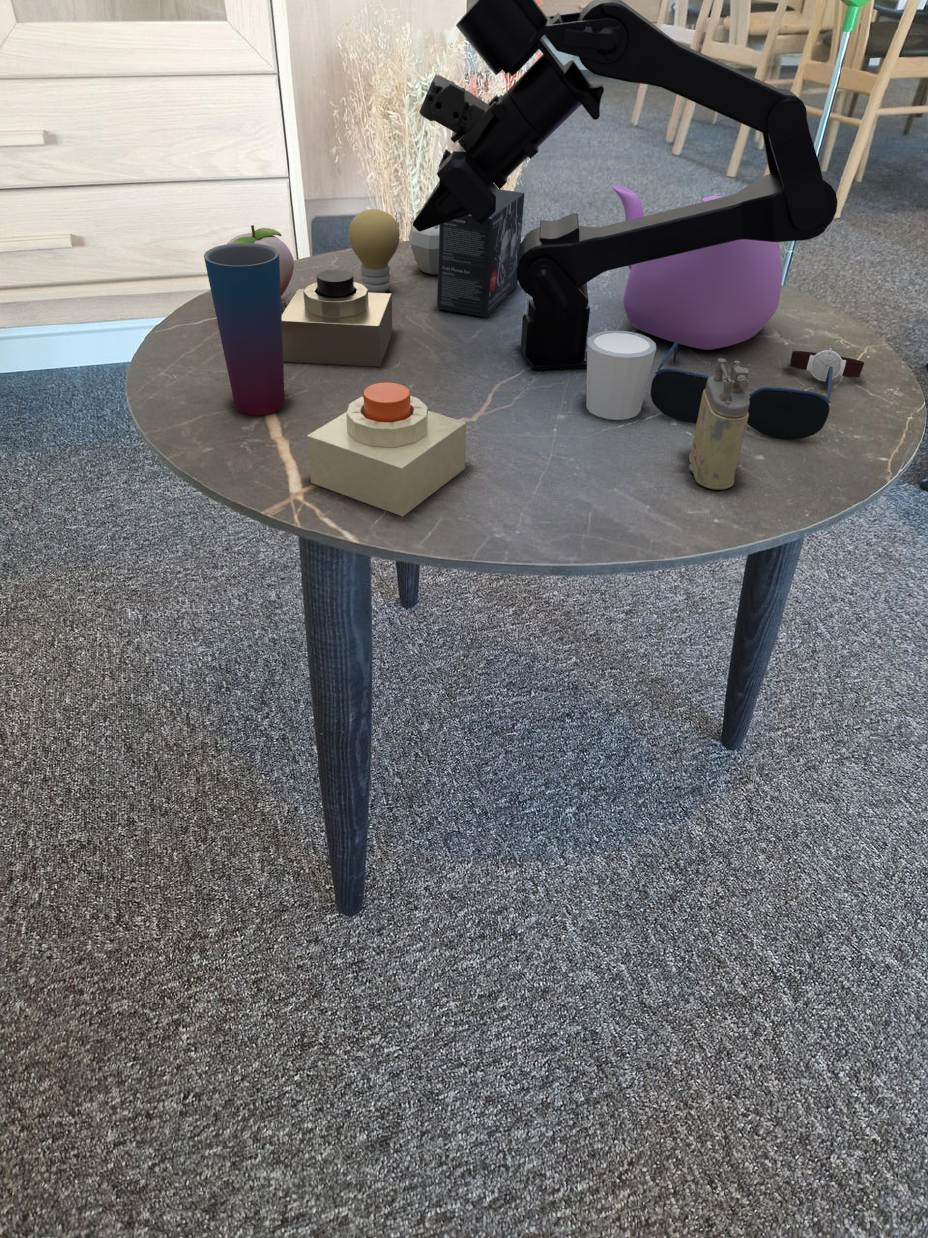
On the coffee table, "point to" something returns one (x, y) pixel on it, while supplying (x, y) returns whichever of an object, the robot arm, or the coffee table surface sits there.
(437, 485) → the beige button housing
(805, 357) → the watch
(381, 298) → the beige button base
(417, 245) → the white faceted pot
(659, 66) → the robot arm
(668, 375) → the sunglasses
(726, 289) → the teapot
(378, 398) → the power button
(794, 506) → the coffee table surface
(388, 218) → the light bulb
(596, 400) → the white tapered cylinder
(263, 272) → the cup
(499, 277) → the small box
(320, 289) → the button
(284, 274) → the decorative fruit
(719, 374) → the lighter
